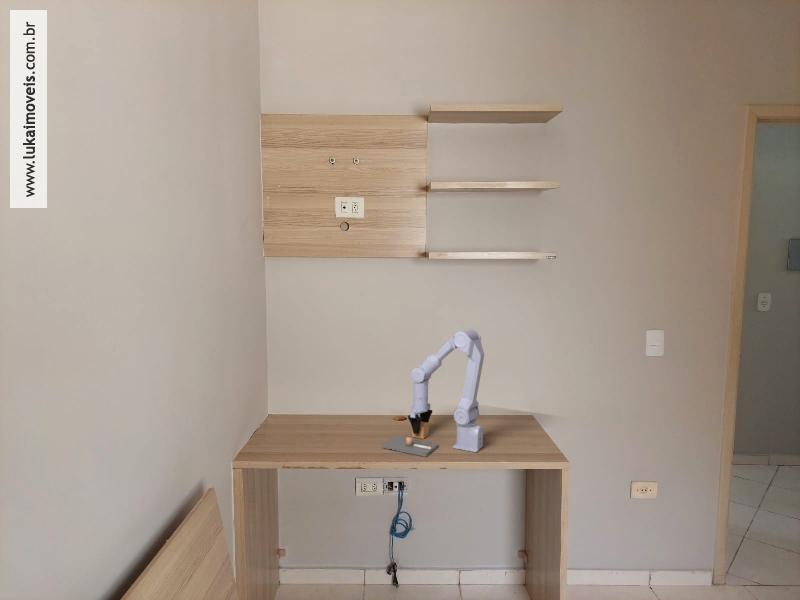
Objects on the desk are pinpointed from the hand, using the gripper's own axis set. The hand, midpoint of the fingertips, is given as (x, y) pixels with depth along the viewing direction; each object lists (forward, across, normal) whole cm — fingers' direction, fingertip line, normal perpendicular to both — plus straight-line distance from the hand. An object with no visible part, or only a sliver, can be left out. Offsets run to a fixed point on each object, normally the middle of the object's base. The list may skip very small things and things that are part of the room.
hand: (420, 430), depth 205 cm
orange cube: (+2, 0, 0) cm, 2 cm away
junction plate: (+2, +13, +2) cm, 13 cm away
